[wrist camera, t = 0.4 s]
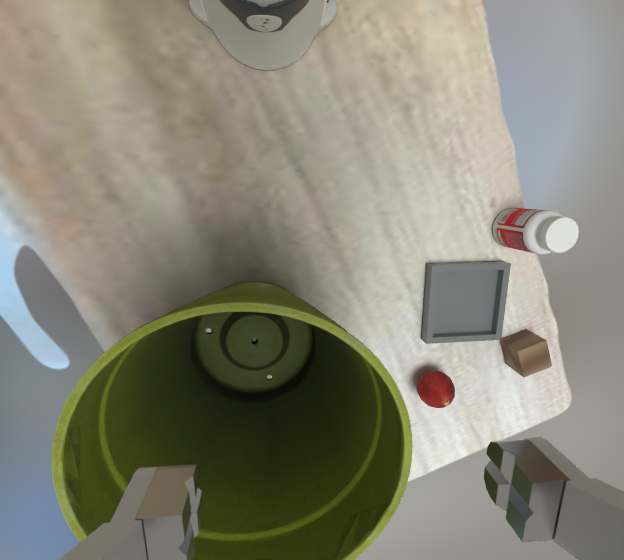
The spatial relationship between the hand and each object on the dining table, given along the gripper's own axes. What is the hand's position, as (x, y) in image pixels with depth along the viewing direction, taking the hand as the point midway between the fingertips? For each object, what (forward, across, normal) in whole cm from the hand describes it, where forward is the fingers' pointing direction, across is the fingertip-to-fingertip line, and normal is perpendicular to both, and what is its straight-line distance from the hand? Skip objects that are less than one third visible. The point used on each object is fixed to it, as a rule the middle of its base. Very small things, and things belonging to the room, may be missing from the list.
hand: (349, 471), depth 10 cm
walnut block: (+46, -40, +19) cm, 64 cm away
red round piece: (+46, -24, +24) cm, 58 cm away
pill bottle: (+46, -36, -2) cm, 59 cm away
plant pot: (+46, +5, +16) cm, 49 cm away
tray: (+46, -29, +10) cm, 56 cm away
